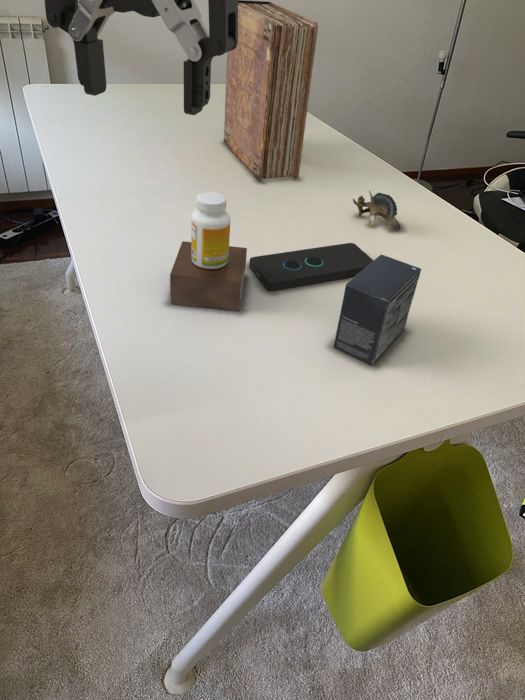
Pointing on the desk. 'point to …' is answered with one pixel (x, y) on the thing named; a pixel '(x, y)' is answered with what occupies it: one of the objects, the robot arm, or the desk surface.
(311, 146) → the desk surface
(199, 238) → the supplement bottle
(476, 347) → the desk surface
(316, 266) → the smart home device
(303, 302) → the desk surface
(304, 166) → the desk surface
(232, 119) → the book
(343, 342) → the small box
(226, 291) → the walnut block
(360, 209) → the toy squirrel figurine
